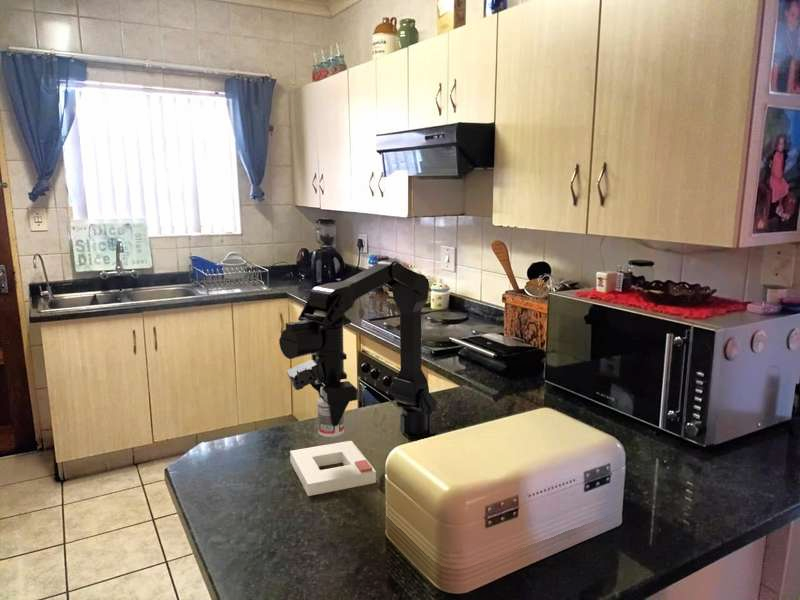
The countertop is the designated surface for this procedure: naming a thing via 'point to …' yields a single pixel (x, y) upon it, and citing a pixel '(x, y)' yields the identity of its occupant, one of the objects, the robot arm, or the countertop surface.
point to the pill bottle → (327, 420)
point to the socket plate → (331, 479)
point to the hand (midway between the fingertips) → (331, 420)
